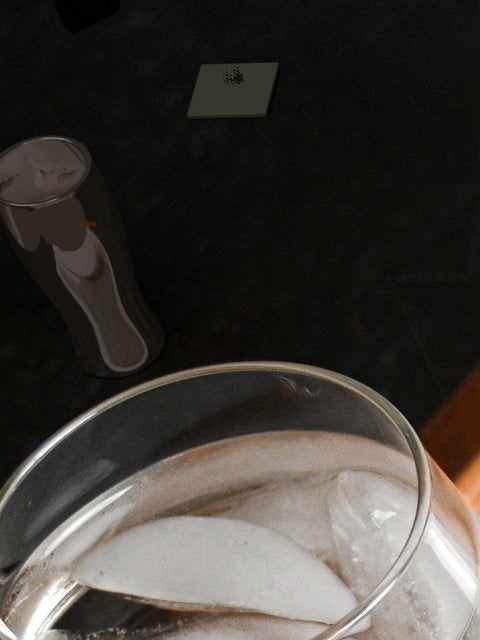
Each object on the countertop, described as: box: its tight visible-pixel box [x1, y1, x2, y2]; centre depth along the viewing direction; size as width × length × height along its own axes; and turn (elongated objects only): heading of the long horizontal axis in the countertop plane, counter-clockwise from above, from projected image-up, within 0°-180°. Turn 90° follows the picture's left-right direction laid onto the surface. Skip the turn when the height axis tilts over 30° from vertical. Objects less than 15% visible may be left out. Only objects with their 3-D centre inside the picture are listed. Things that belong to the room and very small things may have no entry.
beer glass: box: [0, 134, 166, 379], centre depth 126 cm, size 7×7×15 cm
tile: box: [186, 62, 280, 120], centre depth 146 cm, size 6×6×1 cm
